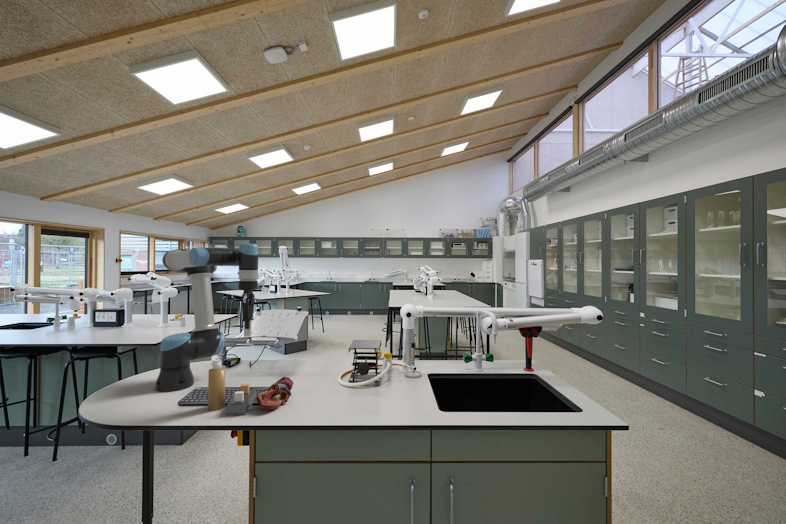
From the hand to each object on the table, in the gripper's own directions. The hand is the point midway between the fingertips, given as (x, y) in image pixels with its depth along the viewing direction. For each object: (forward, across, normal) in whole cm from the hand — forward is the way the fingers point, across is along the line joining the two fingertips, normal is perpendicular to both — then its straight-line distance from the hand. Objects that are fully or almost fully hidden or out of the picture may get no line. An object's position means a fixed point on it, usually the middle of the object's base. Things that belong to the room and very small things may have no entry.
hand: (247, 336), depth 146 cm
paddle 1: (+23, +11, 0) cm, 26 cm away
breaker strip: (+27, +4, 0) cm, 27 cm away
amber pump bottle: (+27, +7, -10) cm, 29 cm away
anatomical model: (+27, +7, +12) cm, 31 cm away
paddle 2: (+23, +3, 0) cm, 23 cm away
